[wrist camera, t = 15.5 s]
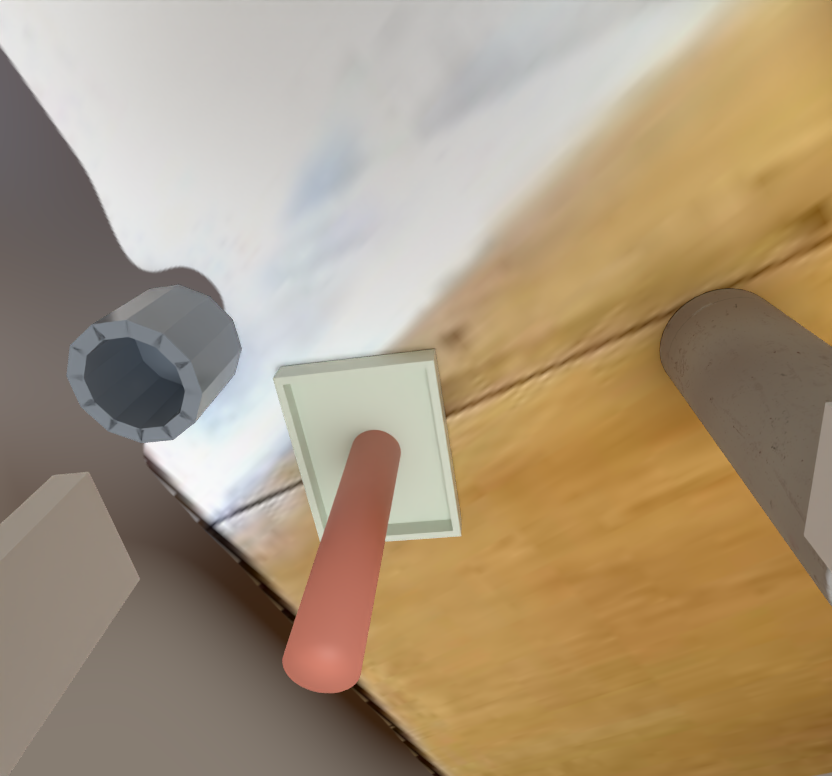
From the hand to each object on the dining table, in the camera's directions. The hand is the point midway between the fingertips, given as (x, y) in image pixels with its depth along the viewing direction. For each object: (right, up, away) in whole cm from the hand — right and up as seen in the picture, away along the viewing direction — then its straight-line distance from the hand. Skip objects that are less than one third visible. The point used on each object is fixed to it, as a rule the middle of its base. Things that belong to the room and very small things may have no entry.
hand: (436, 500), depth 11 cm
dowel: (-4, -3, +37) cm, 37 cm away
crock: (-18, +6, +34) cm, 39 cm away
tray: (-4, -3, +37) cm, 38 cm away
